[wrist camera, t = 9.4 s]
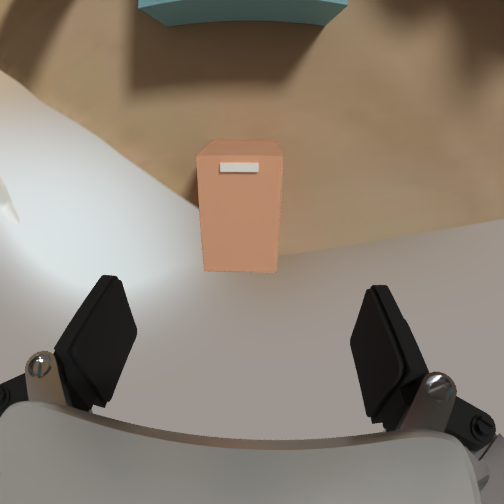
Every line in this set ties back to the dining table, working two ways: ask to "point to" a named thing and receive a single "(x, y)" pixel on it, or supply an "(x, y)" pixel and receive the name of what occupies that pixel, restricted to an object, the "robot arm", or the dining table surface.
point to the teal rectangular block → (242, 11)
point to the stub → (240, 204)
